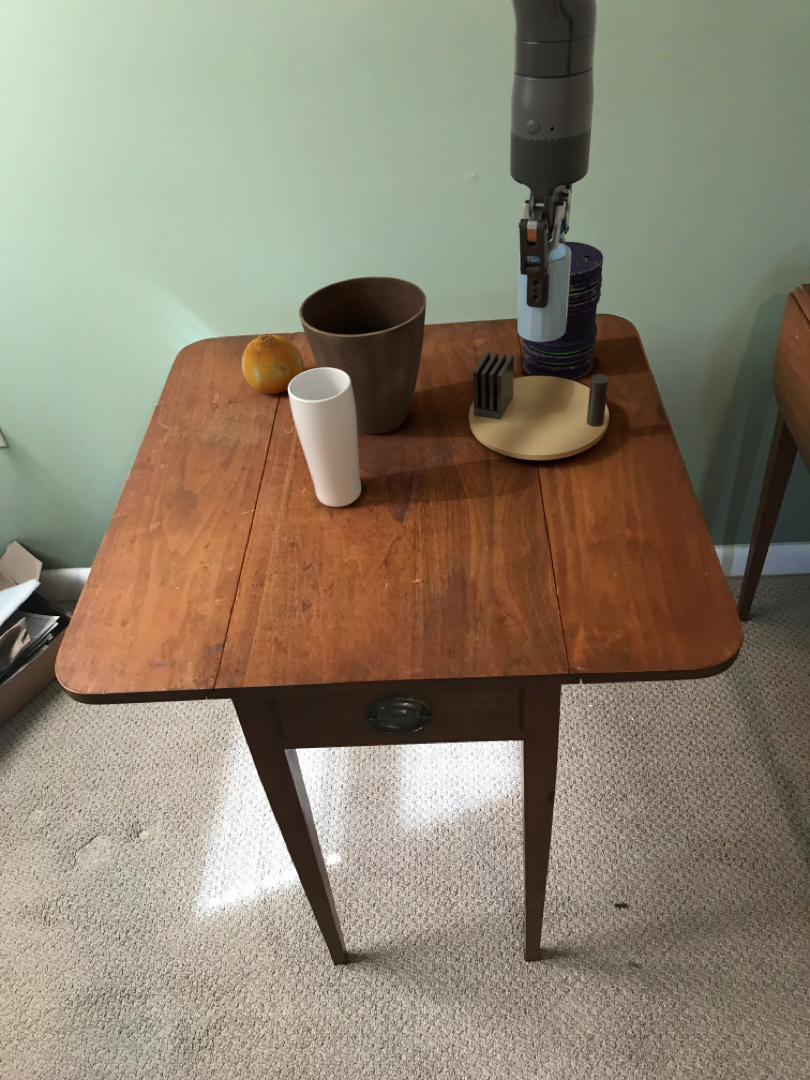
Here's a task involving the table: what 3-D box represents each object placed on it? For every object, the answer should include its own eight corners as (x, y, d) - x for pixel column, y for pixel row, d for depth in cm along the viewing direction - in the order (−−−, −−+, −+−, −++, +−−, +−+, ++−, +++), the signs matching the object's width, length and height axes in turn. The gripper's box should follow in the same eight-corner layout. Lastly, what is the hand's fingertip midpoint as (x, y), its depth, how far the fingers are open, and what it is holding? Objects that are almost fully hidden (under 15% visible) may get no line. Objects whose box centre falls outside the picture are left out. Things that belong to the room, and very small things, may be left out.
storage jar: (520, 381, 104) (523, 275, 94) (522, 344, 111) (524, 242, 101) (596, 381, 102) (607, 273, 92) (592, 344, 109) (602, 240, 99)
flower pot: (297, 431, 100) (272, 317, 89) (367, 376, 108) (352, 266, 97) (388, 466, 93) (374, 347, 82) (456, 405, 101) (451, 290, 90)
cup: (548, 314, 89) (552, 237, 83) (575, 333, 86) (581, 254, 79) (508, 326, 88) (509, 249, 82) (533, 346, 84) (536, 267, 78)
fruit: (264, 398, 102) (273, 336, 99) (225, 385, 106) (233, 326, 104) (309, 400, 108) (318, 343, 106) (270, 388, 113) (278, 333, 110)
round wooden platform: (449, 445, 92) (446, 397, 88) (493, 373, 103) (493, 326, 99) (590, 472, 87) (595, 422, 82) (621, 391, 98) (627, 343, 93)
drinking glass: (373, 476, 92) (357, 366, 81) (362, 514, 87) (344, 402, 76) (318, 475, 93) (295, 366, 82) (304, 512, 88) (279, 401, 78)
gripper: (576, 149, 66) (564, 328, 78) (604, 101, 76) (590, 267, 87) (491, 147, 69) (492, 321, 80) (529, 100, 78) (525, 262, 90)
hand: (543, 292), depth 84 cm, fingers closed on cup, 5 cm apart
